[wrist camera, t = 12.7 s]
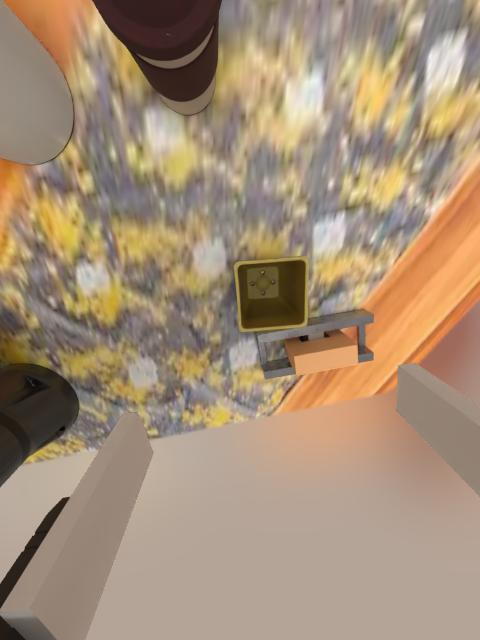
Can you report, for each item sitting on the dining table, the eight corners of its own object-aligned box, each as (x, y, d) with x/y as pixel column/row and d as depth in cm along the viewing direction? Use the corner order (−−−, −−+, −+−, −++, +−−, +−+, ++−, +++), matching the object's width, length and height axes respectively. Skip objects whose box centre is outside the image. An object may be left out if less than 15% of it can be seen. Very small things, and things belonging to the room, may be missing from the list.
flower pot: (290, 308, 38) (307, 327, 30) (237, 312, 38) (239, 333, 30) (290, 252, 35) (309, 255, 27) (232, 256, 35) (233, 261, 27)
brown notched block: (285, 353, 41) (296, 375, 34) (283, 337, 40) (294, 356, 33) (337, 344, 40) (358, 364, 34) (336, 327, 39) (357, 344, 33)
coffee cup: (236, 116, 30) (240, 2, 16) (161, 139, 30) (100, 49, 16) (213, 12, 27) (192, -250, 12) (130, 40, 27) (19, -182, 13)
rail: (262, 369, 42) (264, 379, 39) (255, 328, 39) (257, 335, 36) (363, 351, 41) (373, 360, 38) (363, 308, 39) (373, 314, 36)
